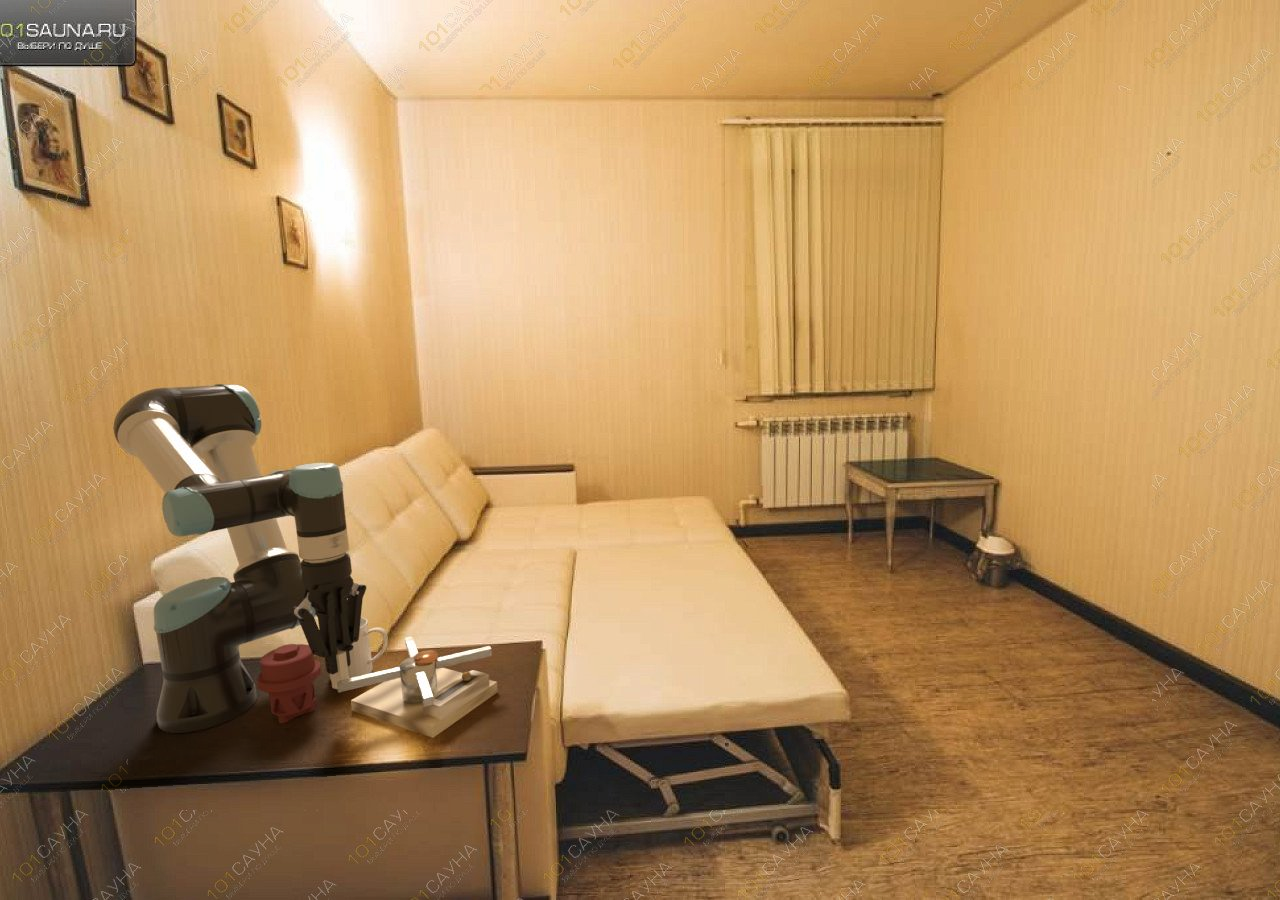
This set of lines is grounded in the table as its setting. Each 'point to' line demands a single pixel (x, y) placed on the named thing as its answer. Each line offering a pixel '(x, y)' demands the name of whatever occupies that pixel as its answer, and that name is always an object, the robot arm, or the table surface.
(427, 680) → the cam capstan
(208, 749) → the table surface
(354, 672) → the mug
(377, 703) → the stand
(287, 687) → the mechanical component
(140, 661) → the table surface
